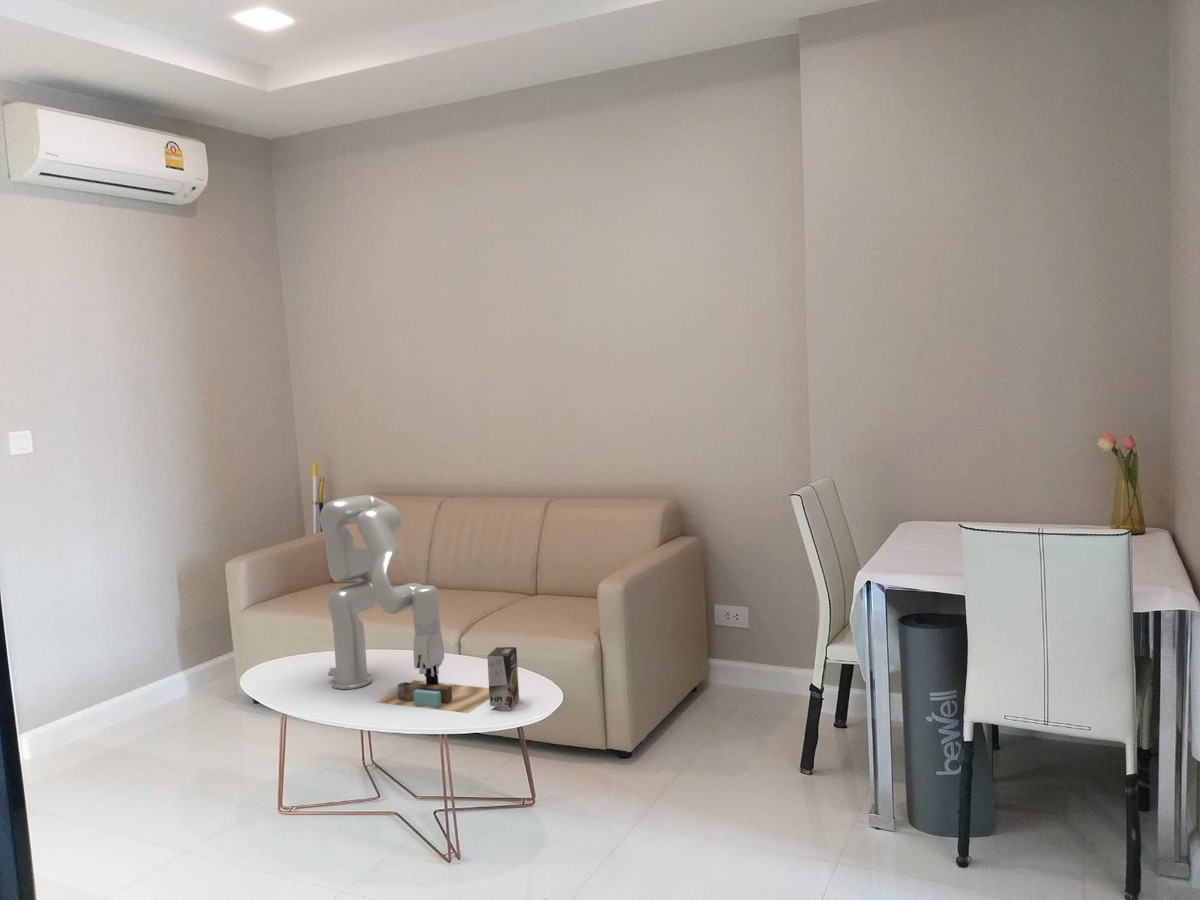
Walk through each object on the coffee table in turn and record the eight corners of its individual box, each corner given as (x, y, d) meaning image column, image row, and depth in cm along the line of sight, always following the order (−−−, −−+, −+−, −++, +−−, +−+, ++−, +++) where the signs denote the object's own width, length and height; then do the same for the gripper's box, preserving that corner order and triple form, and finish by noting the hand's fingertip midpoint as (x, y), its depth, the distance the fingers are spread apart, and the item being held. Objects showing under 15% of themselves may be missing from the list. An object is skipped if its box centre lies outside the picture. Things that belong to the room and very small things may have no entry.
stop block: (414, 704, 261) (413, 691, 261) (418, 702, 263) (417, 689, 263) (437, 707, 258) (436, 694, 258) (441, 705, 260) (440, 691, 260)
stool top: (375, 707, 265) (374, 702, 265) (414, 684, 284) (414, 680, 284) (468, 718, 253) (468, 713, 253) (503, 694, 271) (503, 689, 271)
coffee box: (511, 711, 257) (507, 655, 255) (489, 710, 258) (486, 655, 257) (520, 700, 266) (517, 646, 264) (499, 699, 267) (496, 646, 266)
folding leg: (396, 699, 266) (395, 686, 266) (402, 695, 269) (401, 682, 269) (446, 703, 261) (446, 689, 260) (452, 698, 264) (451, 685, 264)
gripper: (430, 621, 275) (435, 680, 276) (402, 634, 261) (407, 696, 262) (451, 621, 272) (456, 681, 273) (424, 635, 258) (430, 697, 259)
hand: (432, 688), depth 268 cm, fingers closed
